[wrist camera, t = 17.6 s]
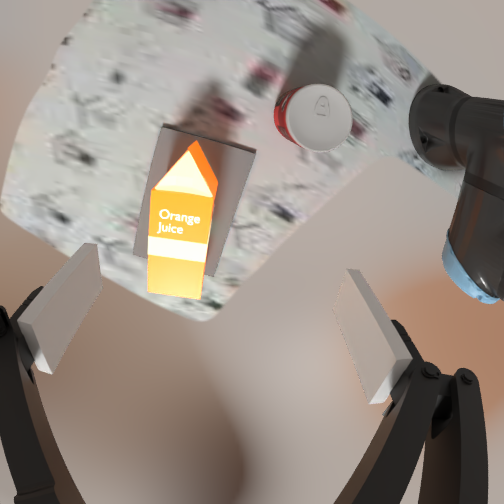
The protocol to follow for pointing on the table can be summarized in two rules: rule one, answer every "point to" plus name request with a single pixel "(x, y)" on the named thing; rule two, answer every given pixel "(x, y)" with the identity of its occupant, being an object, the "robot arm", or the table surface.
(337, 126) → the canned food
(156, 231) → the orange juice
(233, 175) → the mat
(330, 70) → the table surface
